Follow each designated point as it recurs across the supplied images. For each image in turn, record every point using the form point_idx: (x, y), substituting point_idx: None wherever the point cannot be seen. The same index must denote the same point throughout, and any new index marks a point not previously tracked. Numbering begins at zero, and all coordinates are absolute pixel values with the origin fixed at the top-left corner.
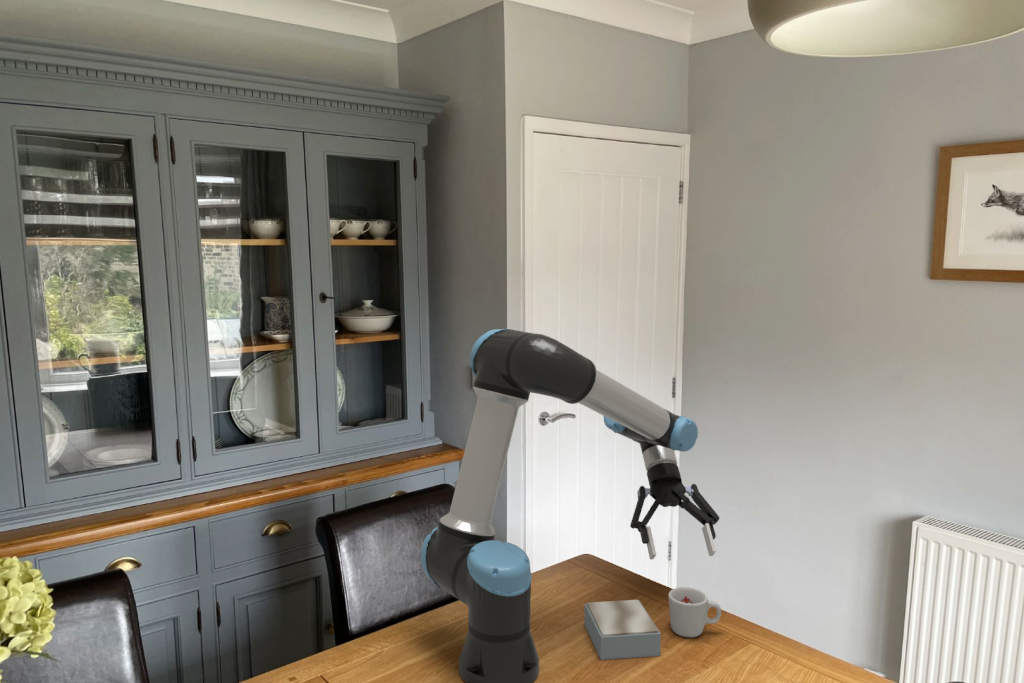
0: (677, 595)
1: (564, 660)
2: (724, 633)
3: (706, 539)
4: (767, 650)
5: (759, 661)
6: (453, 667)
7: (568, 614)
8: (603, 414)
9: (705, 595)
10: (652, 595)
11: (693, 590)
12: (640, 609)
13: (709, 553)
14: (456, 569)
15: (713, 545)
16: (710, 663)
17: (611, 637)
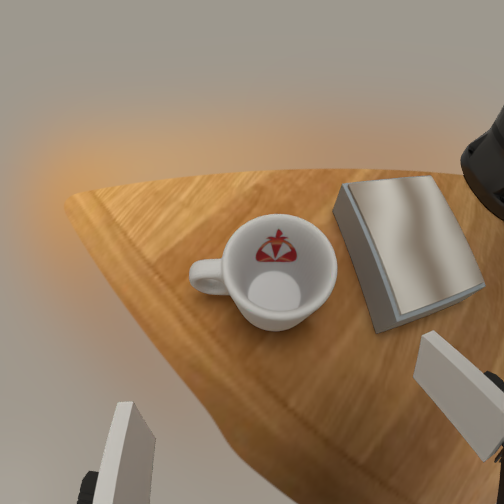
0: (306, 302)
1: (452, 199)
2: (191, 297)
3: (140, 489)
4: (133, 241)
5: (161, 208)
6: None
7: (485, 332)
8: None
9: (226, 265)
10: (334, 465)
11: (256, 305)
12: (392, 263)
13: (150, 439)
14: None
15: (117, 424)
16: (247, 195)
17: (417, 176)
